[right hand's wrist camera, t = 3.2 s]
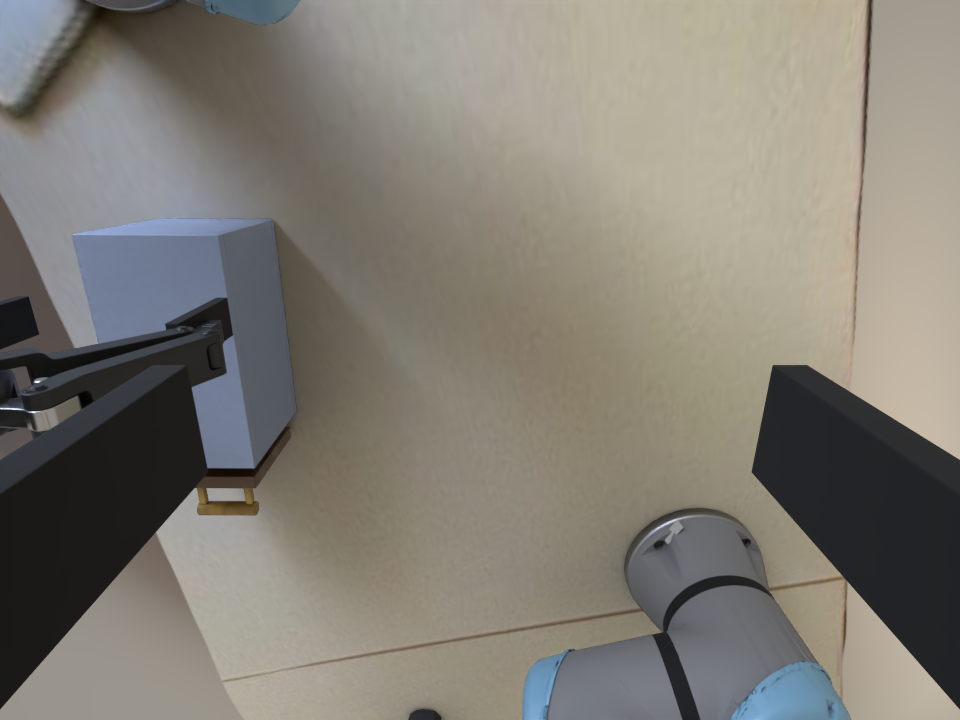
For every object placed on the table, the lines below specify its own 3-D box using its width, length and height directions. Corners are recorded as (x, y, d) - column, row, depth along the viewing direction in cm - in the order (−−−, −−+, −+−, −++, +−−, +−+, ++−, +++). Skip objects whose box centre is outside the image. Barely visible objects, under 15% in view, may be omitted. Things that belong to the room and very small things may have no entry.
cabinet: (297, 410, 57) (254, 468, 46) (195, 410, 57) (129, 468, 46) (273, 219, 50) (218, 235, 40) (158, 218, 50) (70, 234, 40)
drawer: (296, 480, 59) (264, 538, 50) (209, 480, 59) (160, 537, 50) (268, 261, 51) (223, 282, 42) (167, 260, 51) (99, 282, 42)
